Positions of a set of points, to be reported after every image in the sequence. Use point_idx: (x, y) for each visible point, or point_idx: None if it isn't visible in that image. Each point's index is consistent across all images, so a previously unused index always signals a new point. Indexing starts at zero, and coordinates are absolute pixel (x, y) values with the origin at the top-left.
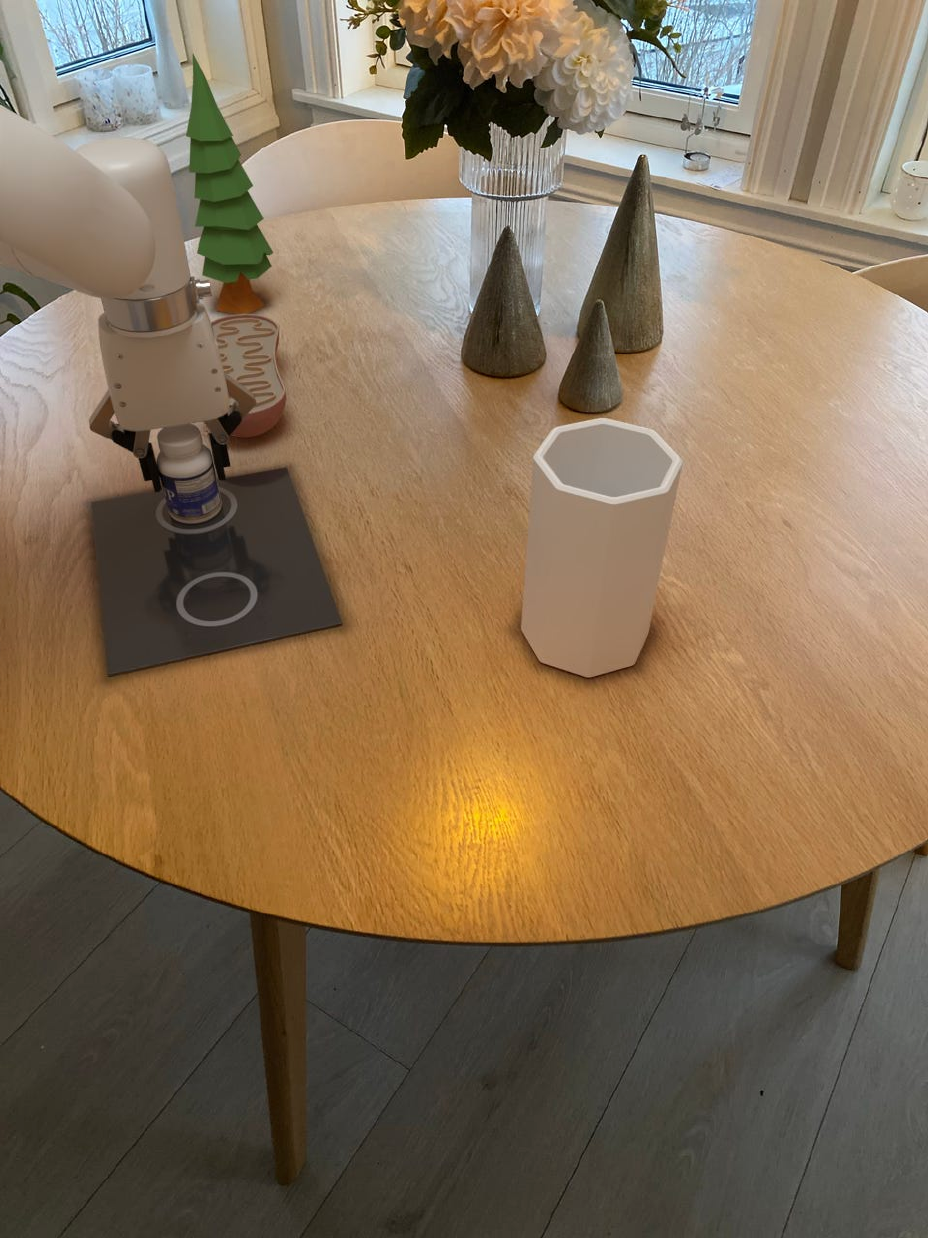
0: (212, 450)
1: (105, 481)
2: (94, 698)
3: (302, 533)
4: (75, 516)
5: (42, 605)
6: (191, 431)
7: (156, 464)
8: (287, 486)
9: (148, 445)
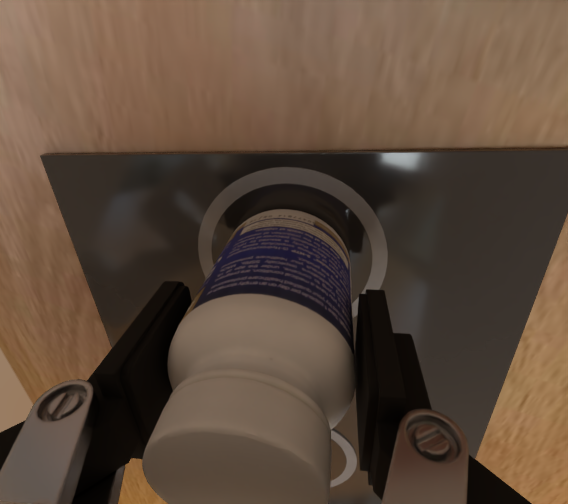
0: (360, 422)
1: (47, 47)
2: (158, 500)
3: (483, 391)
4: (24, 188)
5: (57, 382)
6: (290, 494)
7: (171, 338)
8: (537, 245)
9: (120, 454)
